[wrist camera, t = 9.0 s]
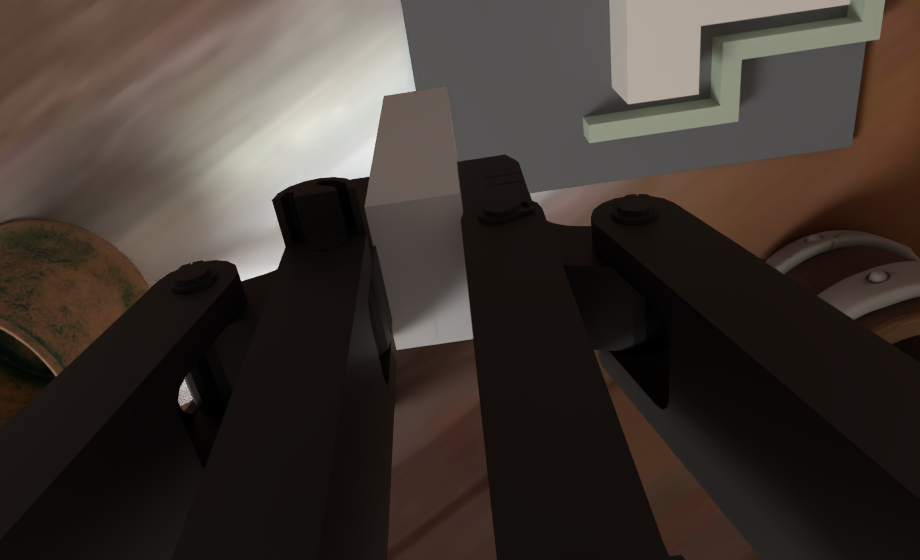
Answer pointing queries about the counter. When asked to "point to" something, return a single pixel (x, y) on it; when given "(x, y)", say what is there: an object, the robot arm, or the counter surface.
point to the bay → (738, 73)
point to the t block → (676, 40)
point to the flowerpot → (860, 280)
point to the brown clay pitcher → (55, 302)
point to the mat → (590, 91)
